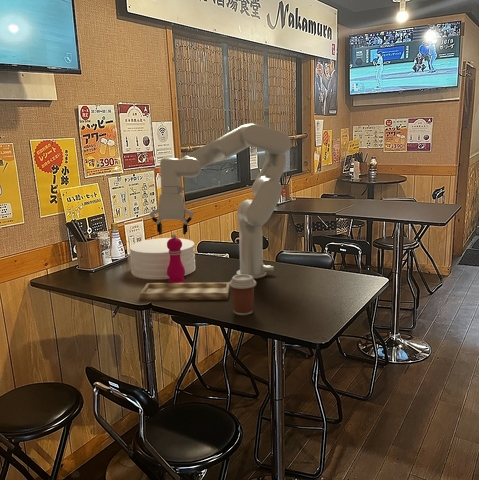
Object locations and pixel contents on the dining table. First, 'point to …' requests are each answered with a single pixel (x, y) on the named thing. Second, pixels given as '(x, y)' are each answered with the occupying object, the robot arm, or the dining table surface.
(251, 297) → the coffee cup
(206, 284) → the birch tray
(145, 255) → the plate stack
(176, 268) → the pepper mill
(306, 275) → the dining table surface
